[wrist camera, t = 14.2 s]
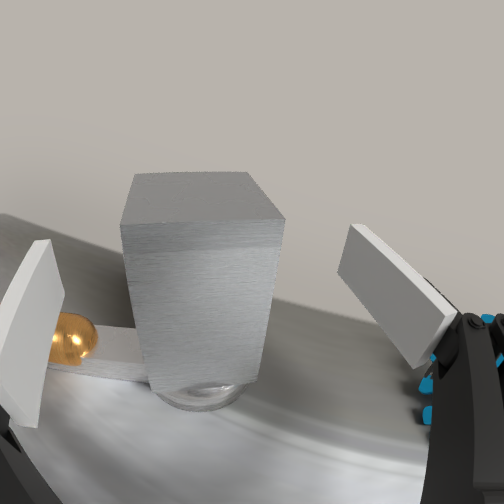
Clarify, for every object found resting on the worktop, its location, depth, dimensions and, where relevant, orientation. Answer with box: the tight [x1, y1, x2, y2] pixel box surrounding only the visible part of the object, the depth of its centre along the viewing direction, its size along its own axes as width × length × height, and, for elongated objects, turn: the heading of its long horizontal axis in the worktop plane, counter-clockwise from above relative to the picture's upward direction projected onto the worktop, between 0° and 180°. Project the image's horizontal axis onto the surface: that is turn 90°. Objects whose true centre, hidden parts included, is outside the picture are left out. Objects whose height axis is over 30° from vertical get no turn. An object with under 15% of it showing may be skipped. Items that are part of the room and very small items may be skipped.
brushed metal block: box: [120, 172, 285, 393], centre depth 16 cm, size 6×6×10 cm
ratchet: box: [0, 303, 248, 412], centre depth 17 cm, size 22×7×5 cm, turn 95°
